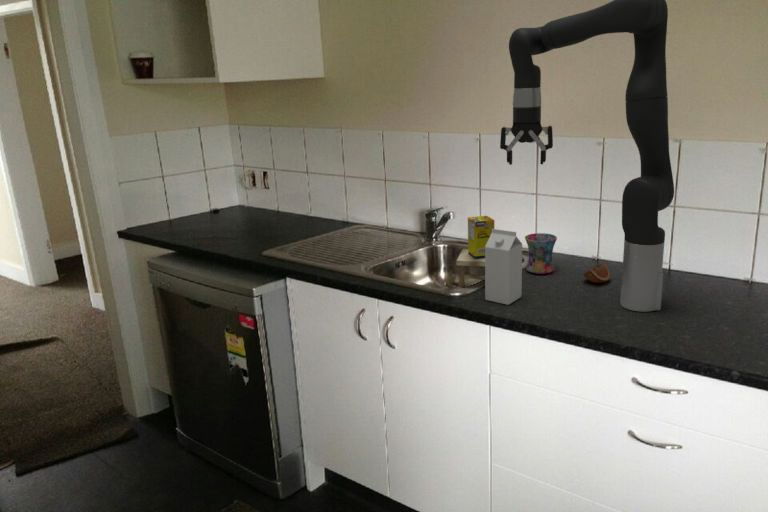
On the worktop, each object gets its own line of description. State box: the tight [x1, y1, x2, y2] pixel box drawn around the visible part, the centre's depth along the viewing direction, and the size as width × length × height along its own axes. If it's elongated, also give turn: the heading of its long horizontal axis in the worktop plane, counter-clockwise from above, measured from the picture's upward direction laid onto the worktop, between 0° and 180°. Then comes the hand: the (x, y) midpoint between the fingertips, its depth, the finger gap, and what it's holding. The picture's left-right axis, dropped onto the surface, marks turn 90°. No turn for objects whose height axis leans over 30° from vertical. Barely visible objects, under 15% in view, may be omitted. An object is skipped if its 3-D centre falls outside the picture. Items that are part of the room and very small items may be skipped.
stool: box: [456, 248, 485, 288], centre depth 186 cm, size 12×12×8 cm
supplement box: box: [467, 215, 495, 259], centre depth 183 cm, size 6×6×11 cm
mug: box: [524, 232, 558, 275], centre depth 193 cm, size 12×9×11 cm
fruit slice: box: [582, 262, 611, 284], centre depth 181 cm, size 8×7×5 cm
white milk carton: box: [484, 228, 523, 306], centre depth 170 cm, size 7×7×19 cm
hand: (526, 164), depth 181 cm, fingers open, 8 cm apart
